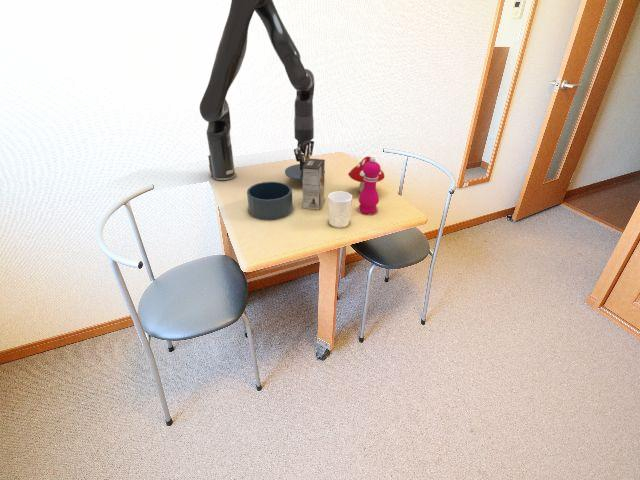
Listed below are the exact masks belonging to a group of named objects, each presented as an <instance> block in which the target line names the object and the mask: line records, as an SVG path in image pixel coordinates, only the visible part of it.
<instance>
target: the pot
mask: <svg viewBox="0 0 640 480" xmlns="http://www.w3.org/2000/svg"><path fill="white" fill-rule="evenodd" d="M246 197H247V207H248V212H249V214H250V215H251V217H253V218H256V219H258V220H262V221H263V220H264V221H274V220H280V219H283V218H286V217H287V216H289V215H290V214H291V213H292V212H293V188H292V187H291V186H290V185H288V184H286V183H284V182H281V181H280V182H279V181H262V182H257V183H255V184H253V185H251V186H250V187H248V188H247V191H246Z"/></svg>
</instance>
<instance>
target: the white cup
mask: <svg viewBox="0 0 640 480" xmlns="http://www.w3.org/2000/svg"><path fill="white" fill-rule="evenodd" d="M352 202H353V195H352V194H351V193H350V192H347V191H341V190H338V191H337V190H336V191H332V192H330V193H329V194H328V196H327V207H328V208H327V209H328V223H329V224H330V226H332V227H334V228H345V227H347V226H348V225H349V224H350V217H351V211H352Z"/></svg>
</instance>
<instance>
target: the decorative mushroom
mask: <svg viewBox="0 0 640 480" xmlns="http://www.w3.org/2000/svg"><path fill="white" fill-rule="evenodd" d="M370 158H372V157H371V156H365V157H364V158H362V160H361V161H359V162H358V164H356V165H355V166H354V167H353V168H351V169H350V170H349V171H348V173H347V175H348V177H349V178H350V179H352V180H353V181H356V182H358V183H359V186H358V192H359V193H361V192H362V190H363V188H364V184H365V180H364V175H365V174H364V172H363V166H364V164H365V163H367V162H369V161H370ZM384 179H385V172H384V171H383V170H382V169H381V171H380V173H379V174H378V181H377V182H376V183H378V182H381V181H382V180H384Z"/></svg>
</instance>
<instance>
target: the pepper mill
mask: <svg viewBox="0 0 640 480" xmlns="http://www.w3.org/2000/svg"><path fill="white" fill-rule="evenodd" d="M381 170H382V167H381V165H380V164H379V162H377V161H376V158H375V157H373V156H372V157H371V158H370V161H369V162H367V163H365V164H364V166H363V172H364V174H365V175H364V180H365V184H364V188H363V190H362V192H359V196H358V203H359V206H358V207H359V208H358V211H359V212H360V213H362V214H364V215H373V214H376V213H377V209H378V206H377V205H378V204H379V202H380V195H379V192H378V191H377V183H378V182H377V181H378V174H379V173H380V171H381Z"/></svg>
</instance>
